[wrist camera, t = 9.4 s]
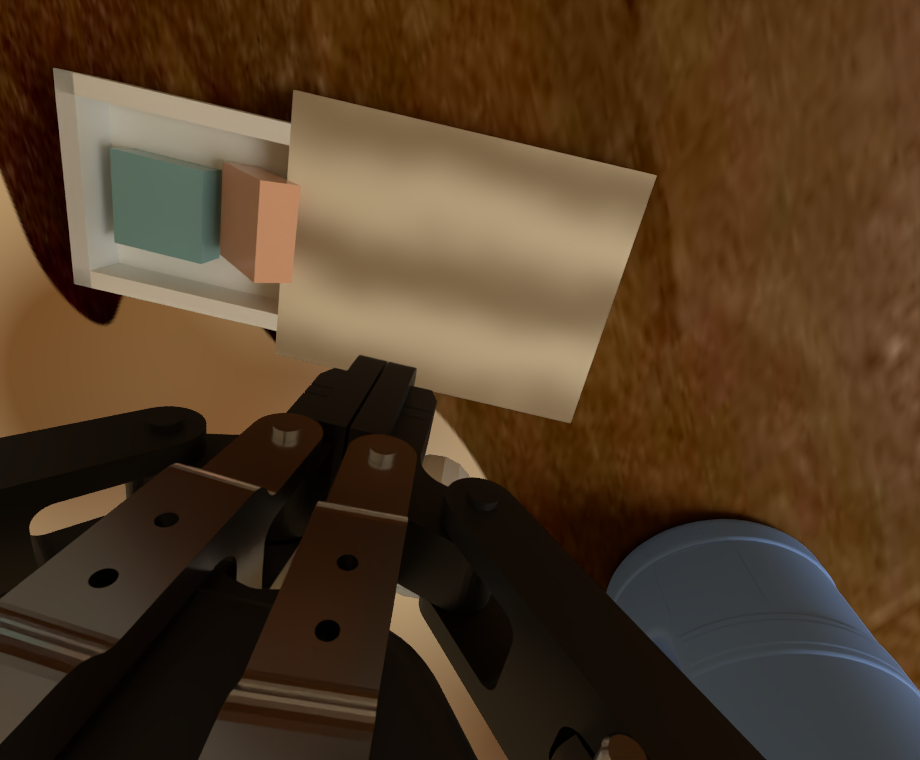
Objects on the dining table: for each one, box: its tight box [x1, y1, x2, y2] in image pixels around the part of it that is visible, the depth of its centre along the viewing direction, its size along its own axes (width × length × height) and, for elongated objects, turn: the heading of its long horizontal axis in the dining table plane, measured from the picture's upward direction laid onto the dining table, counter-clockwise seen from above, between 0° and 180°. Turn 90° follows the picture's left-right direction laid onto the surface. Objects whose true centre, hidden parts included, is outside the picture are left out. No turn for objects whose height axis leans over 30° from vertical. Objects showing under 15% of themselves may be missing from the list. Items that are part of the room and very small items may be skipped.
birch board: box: [275, 90, 657, 423], centre depth 29 cm, size 14×18×3 cm
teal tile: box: [110, 148, 222, 264], centre depth 29 cm, size 5×5×2 cm
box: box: [53, 68, 291, 331], centre depth 29 cm, size 11×12×3 cm
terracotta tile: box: [220, 161, 300, 283], centre depth 27 cm, size 5×5×2 cm
